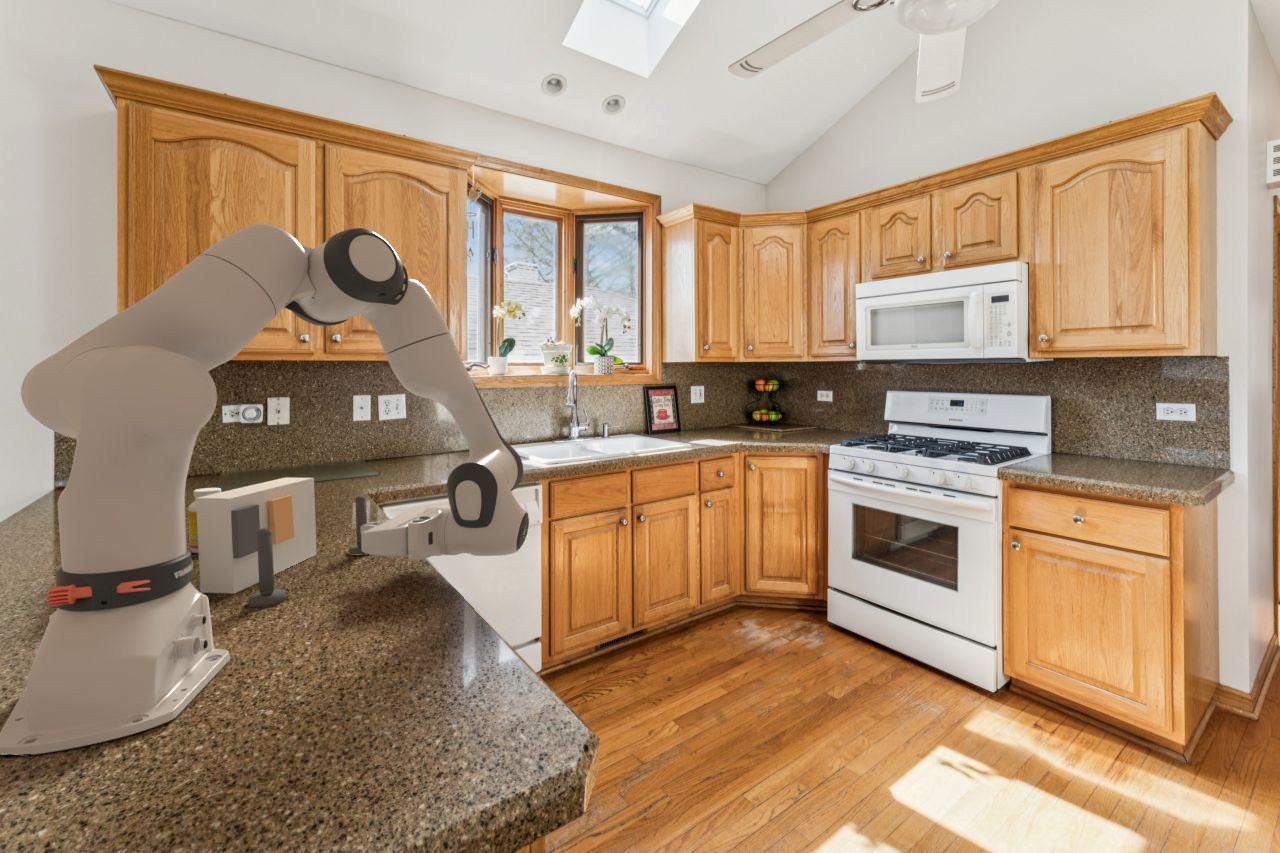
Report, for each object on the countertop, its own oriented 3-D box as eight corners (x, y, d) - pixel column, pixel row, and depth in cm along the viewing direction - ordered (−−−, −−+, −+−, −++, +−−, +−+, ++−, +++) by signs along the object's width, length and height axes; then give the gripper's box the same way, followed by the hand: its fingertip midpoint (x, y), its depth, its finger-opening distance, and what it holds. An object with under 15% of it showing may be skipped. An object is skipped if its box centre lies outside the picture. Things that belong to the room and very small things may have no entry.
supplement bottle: (214, 554, 120) (211, 492, 120) (182, 554, 121) (178, 492, 120) (236, 545, 127) (234, 486, 126) (206, 545, 127) (203, 486, 126)
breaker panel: (316, 555, 120) (313, 477, 119) (234, 593, 98) (230, 498, 97) (288, 554, 120) (285, 477, 119) (200, 592, 98) (195, 497, 97)
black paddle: (260, 549, 102) (258, 504, 102) (239, 558, 97) (236, 510, 97) (255, 549, 102) (253, 504, 102) (233, 558, 97) (231, 510, 97)
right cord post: (375, 554, 121) (374, 496, 120) (348, 557, 119) (347, 498, 118) (375, 548, 125) (373, 492, 125) (349, 550, 123) (347, 494, 122)
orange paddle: (294, 537, 111) (291, 495, 110) (276, 544, 106) (272, 500, 105) (289, 537, 111) (286, 495, 110) (270, 544, 106) (267, 500, 105)
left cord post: (283, 604, 93) (280, 529, 92) (246, 609, 91) (242, 533, 90) (287, 594, 98) (284, 523, 97) (251, 599, 95) (248, 526, 95)
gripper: (460, 501, 116) (392, 500, 117) (412, 525, 96) (331, 524, 97) (460, 532, 116) (393, 531, 117) (413, 563, 96) (332, 561, 97)
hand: (364, 528), depth 107 cm, fingers closed
